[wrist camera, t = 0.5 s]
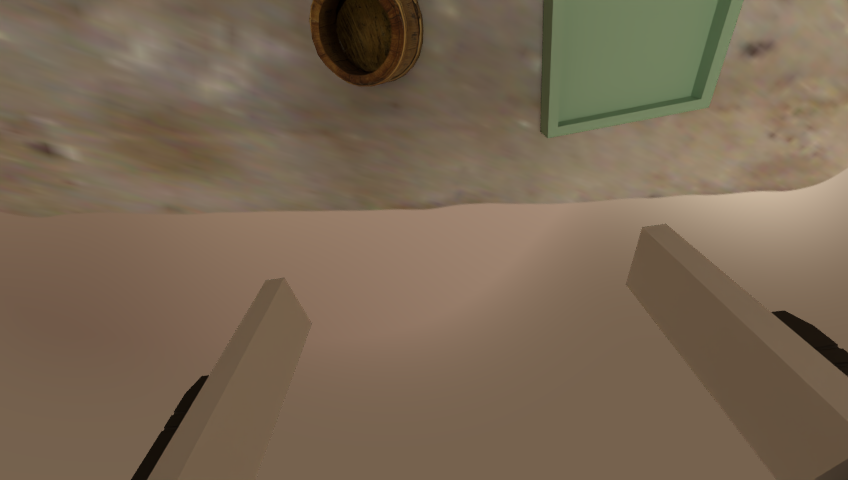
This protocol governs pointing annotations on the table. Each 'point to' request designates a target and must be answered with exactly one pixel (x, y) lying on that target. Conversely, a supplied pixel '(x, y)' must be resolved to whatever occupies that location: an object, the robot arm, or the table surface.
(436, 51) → the table surface
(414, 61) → the wooden mug
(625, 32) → the green tray
